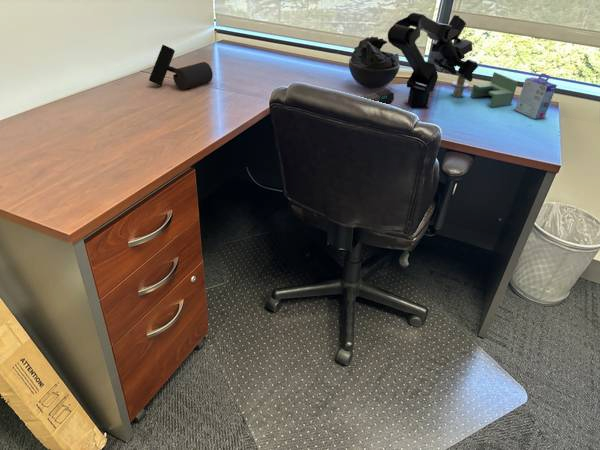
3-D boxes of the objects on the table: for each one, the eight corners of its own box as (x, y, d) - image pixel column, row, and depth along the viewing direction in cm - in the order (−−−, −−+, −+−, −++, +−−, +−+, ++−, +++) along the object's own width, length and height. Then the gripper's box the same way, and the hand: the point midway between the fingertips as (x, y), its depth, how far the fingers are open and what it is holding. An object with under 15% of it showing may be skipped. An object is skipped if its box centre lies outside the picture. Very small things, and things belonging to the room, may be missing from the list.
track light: (217, 69, 185) (170, 47, 183) (212, 62, 171) (161, 38, 169) (203, 105, 187) (156, 84, 185) (196, 101, 173) (145, 78, 171)
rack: (491, 107, 177) (498, 84, 172) (470, 96, 186) (476, 74, 181) (510, 104, 181) (518, 81, 176) (488, 94, 190) (495, 72, 184)
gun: (396, 110, 168) (392, 85, 162) (347, 132, 166) (341, 108, 160) (390, 106, 171) (386, 81, 165) (342, 127, 170) (336, 103, 163)
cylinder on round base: (454, 98, 183) (462, 67, 176) (445, 92, 188) (452, 61, 181) (469, 98, 185) (477, 66, 178) (460, 92, 190) (468, 61, 183)
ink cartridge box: (545, 117, 171) (560, 78, 163) (535, 119, 169) (549, 80, 161) (524, 108, 178) (537, 70, 170) (514, 110, 176) (526, 71, 168)
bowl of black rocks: (378, 77, 200) (384, 31, 189) (405, 93, 186) (414, 43, 175) (337, 82, 193) (342, 34, 182) (362, 98, 178) (369, 47, 167)
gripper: (481, 39, 164) (495, 68, 175) (446, 27, 178) (462, 54, 188) (458, 63, 166) (473, 91, 176) (425, 49, 180) (442, 75, 190)
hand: (463, 77), depth 183 cm, fingers open, 9 cm apart
